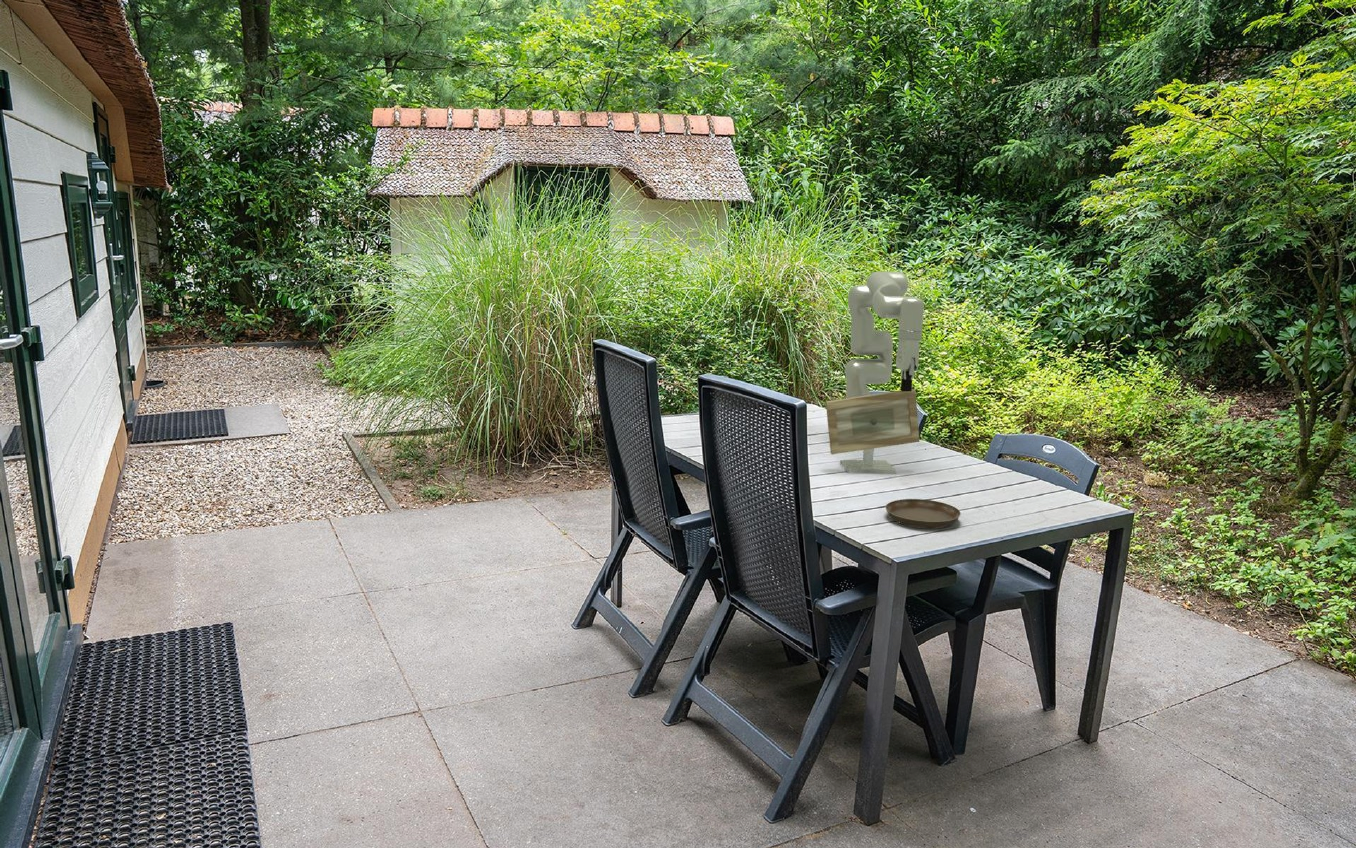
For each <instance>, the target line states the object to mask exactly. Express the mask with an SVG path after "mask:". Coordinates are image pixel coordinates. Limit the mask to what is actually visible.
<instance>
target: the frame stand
mask: <svg viewBox="0 0 1356 848" xmlns="http://www.w3.org/2000/svg"><path fill="white" fill-rule="evenodd" d="M862 452H863V454H862V459H840V462H839V465H840V466H841V467H842V468H843V469H844V470H845V471H846V472H847V473H848V474H888V475H889V474H891V475H893V474H896V473H897V472H896V468H895V467H894V466H893V465H892V464H890V463H889V462H888V461H887V460H879V459H875V460H874V455H875V453H874V452H875V448H873V449H866V450H862Z"/></svg>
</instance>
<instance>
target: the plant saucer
mask: <svg viewBox="0 0 1356 848" xmlns="http://www.w3.org/2000/svg"><path fill="white" fill-rule="evenodd" d="M885 510H886V512H887V513H888V515H889V516H890V518H891V519H893V520H894V521H895V522H896V523H899V522H900V523H899V524H901V523H902V524H901V525H904V526H907V525H908V527H911V526H912V528H917V527H919V528H918V529H928V528H929V529H932V530H933V529H942V528H943V529H944V528H946V527H949V526H951V525H953V524H955V522H956V521H957V520H958V519H959V518H960V516H961V515H962V513H961V511H960V510H959V509H958V508H957V507H955V506H953V505H952V504H948V503H945V502H941V501H937V500H931V499H924V498H923V499H922V498H905V499H896V500H893V501H889V502H888V503H887V504H886V505H885Z"/></svg>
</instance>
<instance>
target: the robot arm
mask: <svg viewBox="0 0 1356 848" xmlns="http://www.w3.org/2000/svg"><path fill="white" fill-rule="evenodd" d="M908 288H909V281H908V277H907V275H906V274H905V273H903V272H902V271H875V272H873V273H870V275H869V276H868V277H867V279H866V284H857V285H853V286H852V287H851V288H850V289H849V292H848V294H847V304H848V309H849V313H850V320H851V323H850V350H851V353H852V354H854V355H857V356H877V358H854V359H851V360H849V361H848V362H846V365H845V368H844V371H845V374H844V375H845V383H846V385H845V389H846V392H845V398H852V397H859V396H866V395H872V394H871V391H870V390H869V389H868V388H867V386H866V385H883V384H888V383H889V382H890V380H891V378H892V372H893V354H894V353H893V352H894V339H893V336H892V335H891V333H890V332H889V331H886V330H877V329H876V330H875V317H874V314H873V313H872V311H871V310H870V308H871V309H873V311H874V313H875V314H876V315H877V316H879V318H882V319H887V320H889V319H892V320H894V319H895V320H898V332H897V333H898V335H897V340H898V343H897V349H896V357H895V358H896V359H895V367H896V369H898V370H900V372H901V376H900V377H901V381H900V391H911V390H912V389H913V387H912V386H913V378H914V377H913V376H914V375H915V372H916V371H918V369H919V362H920V342H921V341H922V336H923V335H922V333H923V322H924V321H923V319H924V308H925V307H924V306H925V302H924V300H923V299H921V298H917V297H916V296H906V294H907V292H908Z"/></svg>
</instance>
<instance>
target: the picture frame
mask: <svg viewBox="0 0 1356 848" xmlns="http://www.w3.org/2000/svg"><path fill="white" fill-rule="evenodd" d="M825 408H826V410H825V411H826V418H827V426H828V427H827V428H828V429H827V431H828V441H829V448H830V454H831V455H837V454H845V453H851V452H859V451H864V450H866V449H873V448H874V449H879V448H885V447H892V446H893V447H894V446H899V445H900V446H901V445H907V444H913V443H920V431H919V430H920V429H919V419H918V416H919V415H918V405H917V392H916V389H915V388H912V390H911V391H901V390H896V391H895V390H894V391H889V392H882V393H873V394H871V395H866V396H859V397H852V398H846V397H845V398H840V399H833V400H832V399H831V400H825Z"/></svg>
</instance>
